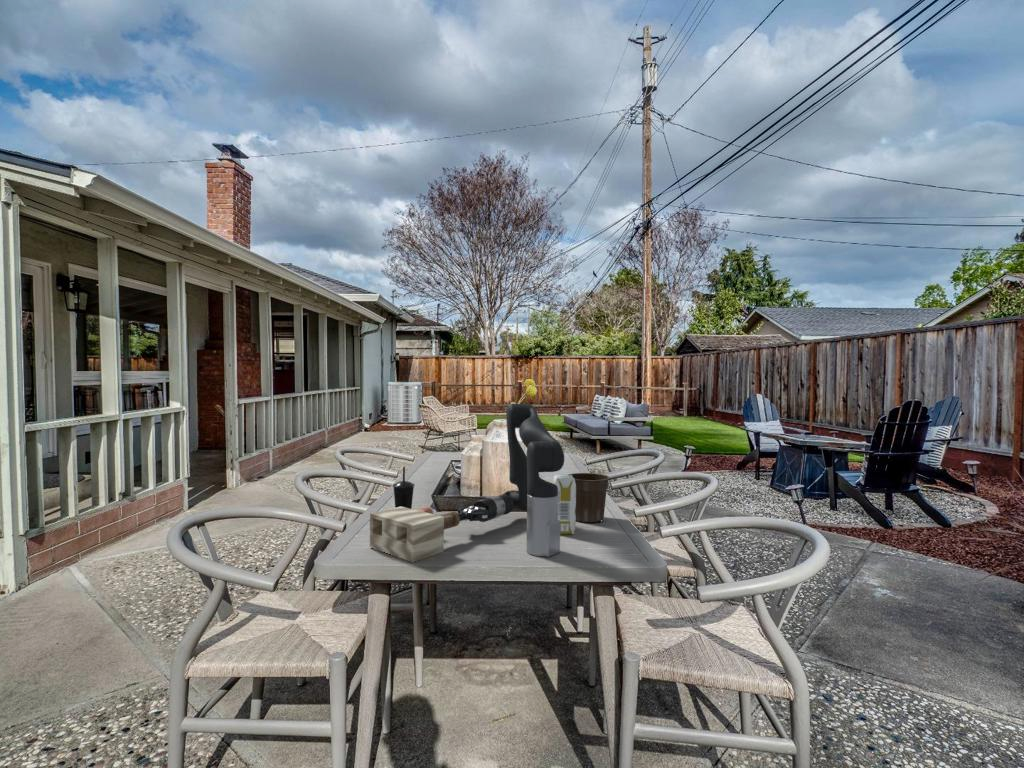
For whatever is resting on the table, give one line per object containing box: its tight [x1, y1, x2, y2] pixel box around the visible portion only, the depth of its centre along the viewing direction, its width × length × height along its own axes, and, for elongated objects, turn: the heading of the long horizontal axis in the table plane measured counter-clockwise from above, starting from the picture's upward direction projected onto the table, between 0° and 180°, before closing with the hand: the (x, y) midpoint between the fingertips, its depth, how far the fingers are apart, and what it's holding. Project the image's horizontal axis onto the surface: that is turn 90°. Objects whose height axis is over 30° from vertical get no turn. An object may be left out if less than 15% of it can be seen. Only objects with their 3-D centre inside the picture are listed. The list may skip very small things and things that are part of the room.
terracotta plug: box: [416, 506, 434, 514], centre depth 163 cm, size 5×16×5 cm, turn 143°
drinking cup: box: [392, 466, 416, 509], centre depth 184 cm, size 8×8×20 cm
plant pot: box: [567, 472, 611, 523], centre depth 193 cm, size 16×16×16 cm
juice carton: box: [552, 474, 577, 535], centre depth 176 cm, size 8×9×19 cm
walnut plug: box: [439, 511, 461, 531], centre depth 157 cm, size 5×16×5 cm, turn 142°
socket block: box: [369, 507, 445, 563], centre depth 154 cm, size 20×12×10 cm, turn 52°
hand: (454, 518), depth 164 cm, fingers closed
